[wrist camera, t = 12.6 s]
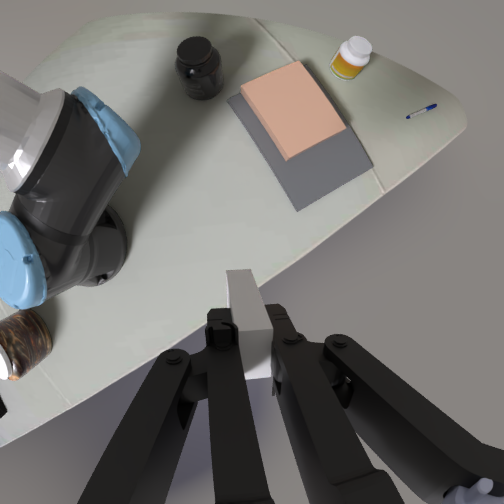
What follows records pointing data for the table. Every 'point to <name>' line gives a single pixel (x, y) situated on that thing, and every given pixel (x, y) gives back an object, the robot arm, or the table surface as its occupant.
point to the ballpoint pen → (422, 111)
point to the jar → (22, 344)
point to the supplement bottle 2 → (350, 58)
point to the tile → (292, 109)
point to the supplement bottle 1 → (199, 68)
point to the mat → (307, 156)
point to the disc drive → (2, 409)
